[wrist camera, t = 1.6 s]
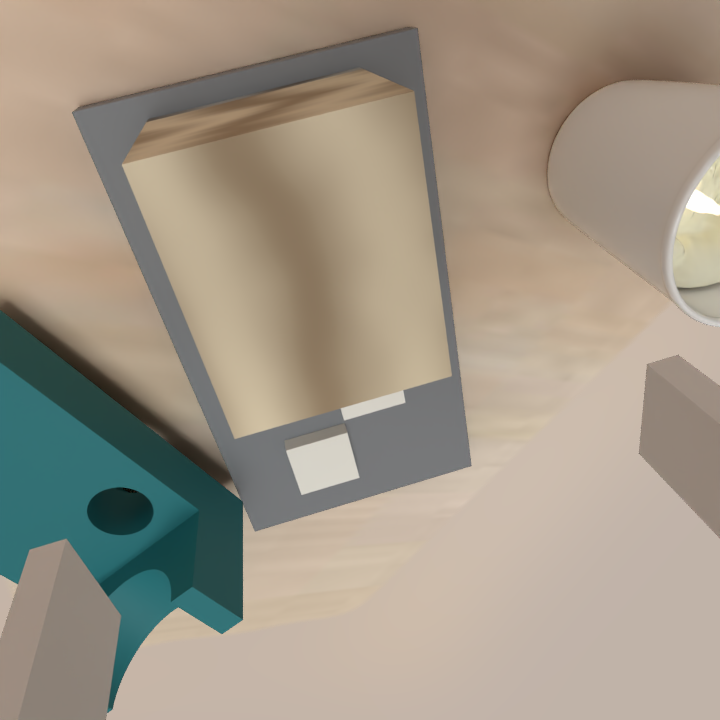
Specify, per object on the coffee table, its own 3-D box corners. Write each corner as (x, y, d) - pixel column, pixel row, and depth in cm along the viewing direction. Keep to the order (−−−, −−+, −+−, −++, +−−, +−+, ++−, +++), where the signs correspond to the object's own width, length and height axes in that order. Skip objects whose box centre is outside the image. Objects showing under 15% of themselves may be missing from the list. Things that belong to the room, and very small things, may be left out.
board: (408, 27, 28) (417, 28, 27) (463, 452, 44) (471, 465, 42) (78, 107, 27) (71, 112, 26) (253, 515, 42) (255, 531, 41)
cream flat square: (391, 341, 35) (395, 349, 35) (401, 393, 38) (405, 402, 37) (327, 359, 35) (330, 368, 34) (341, 411, 37) (344, 420, 37)
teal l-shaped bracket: (242, 487, 39) (242, 619, 30) (126, 572, 41) (93, 722, 32) (8, 297, 31) (-89, 404, 22) (-126, 416, 33) (-267, 559, 24)
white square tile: (344, 423, 38) (347, 432, 37) (356, 467, 40) (359, 477, 39) (284, 440, 38) (285, 450, 37) (299, 484, 40) (301, 495, 39)
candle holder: (503, 213, 34) (623, 299, 24) (589, 33, 30) (776, 47, 20) (630, 257, 38) (780, 348, 28) (722, 101, 34) (938, 142, 24)
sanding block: (359, 67, 27) (414, 91, 20) (399, 293, 34) (452, 376, 26) (147, 119, 27) (121, 164, 19) (230, 340, 33) (234, 439, 26)
